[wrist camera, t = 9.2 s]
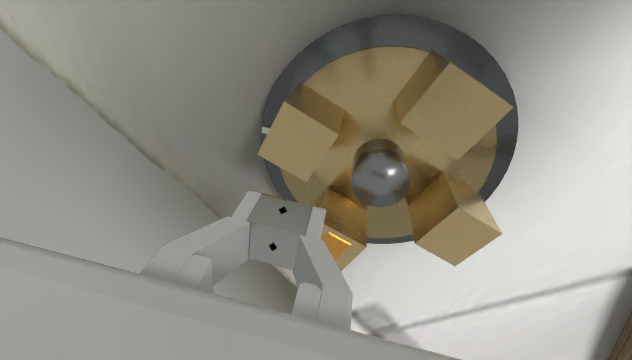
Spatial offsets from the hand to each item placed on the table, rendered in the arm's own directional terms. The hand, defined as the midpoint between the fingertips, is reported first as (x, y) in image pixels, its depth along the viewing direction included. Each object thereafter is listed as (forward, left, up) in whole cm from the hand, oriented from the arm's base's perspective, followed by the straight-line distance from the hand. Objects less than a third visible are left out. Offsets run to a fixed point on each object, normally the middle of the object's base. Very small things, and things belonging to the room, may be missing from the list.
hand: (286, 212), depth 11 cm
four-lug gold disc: (-6, +5, -17) cm, 18 cm away
